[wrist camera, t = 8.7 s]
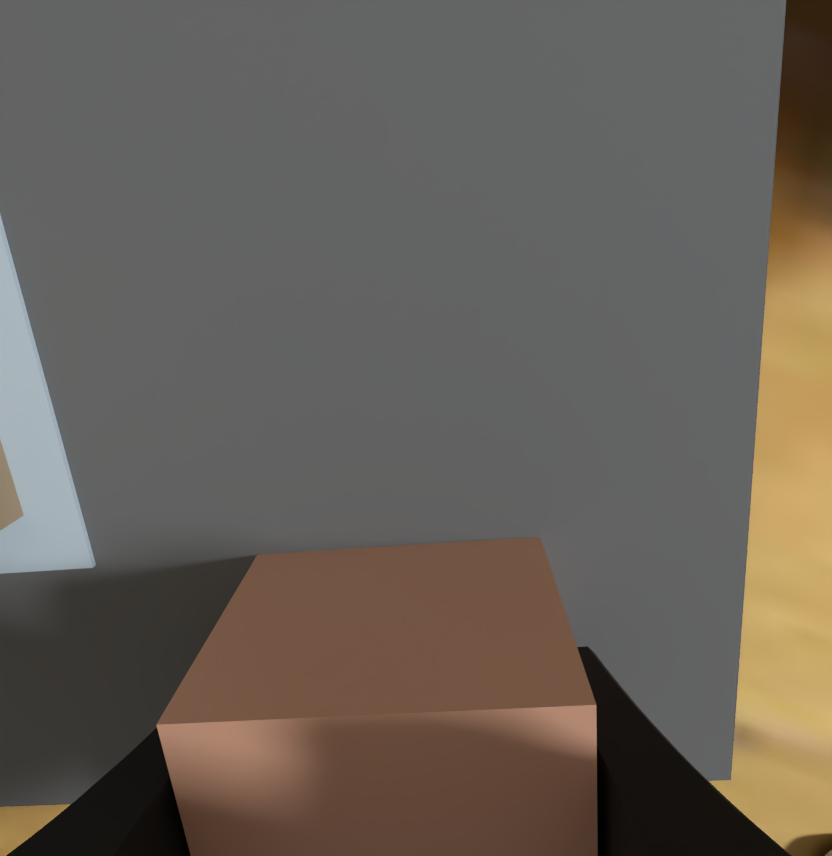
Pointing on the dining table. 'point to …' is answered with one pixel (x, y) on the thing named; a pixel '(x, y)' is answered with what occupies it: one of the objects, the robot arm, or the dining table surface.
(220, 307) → the grey mat
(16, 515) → the birch brick
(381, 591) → the terracotta brick
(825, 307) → the dining table surface
